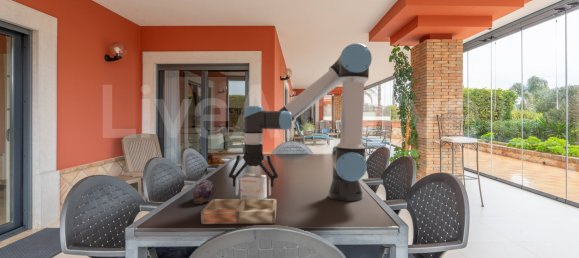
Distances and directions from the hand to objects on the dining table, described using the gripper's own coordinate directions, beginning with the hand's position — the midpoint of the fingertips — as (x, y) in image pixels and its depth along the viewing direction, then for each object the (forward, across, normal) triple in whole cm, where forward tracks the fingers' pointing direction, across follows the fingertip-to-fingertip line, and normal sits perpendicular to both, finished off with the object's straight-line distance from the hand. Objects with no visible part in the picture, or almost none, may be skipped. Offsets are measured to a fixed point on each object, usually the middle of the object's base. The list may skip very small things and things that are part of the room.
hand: (253, 194), depth 134 cm
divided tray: (+4, +3, +16) cm, 17 cm away
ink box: (+4, 0, 0) cm, 4 cm away
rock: (+4, +22, -5) cm, 23 cm away
